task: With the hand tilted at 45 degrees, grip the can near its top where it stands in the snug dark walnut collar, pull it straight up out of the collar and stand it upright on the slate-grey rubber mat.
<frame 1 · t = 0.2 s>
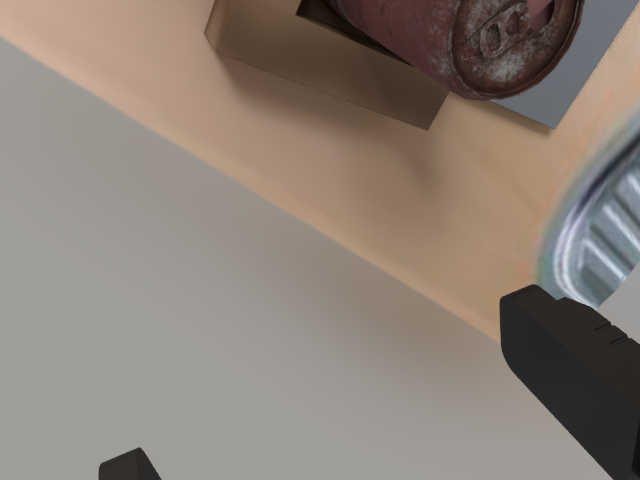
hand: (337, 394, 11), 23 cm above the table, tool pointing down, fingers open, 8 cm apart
mat: (559, 4, 35), on the table
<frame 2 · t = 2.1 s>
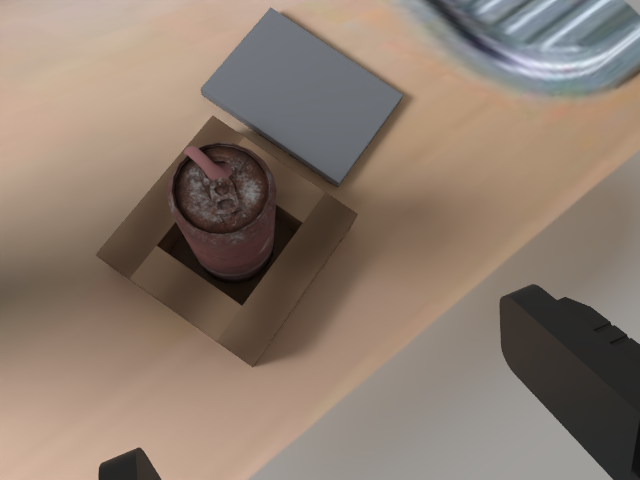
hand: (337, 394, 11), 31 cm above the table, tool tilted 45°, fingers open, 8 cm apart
can: (233, 245, 44), resting in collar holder
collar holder: (233, 245, 44), on the table
mat: (302, 97, 47), on the table
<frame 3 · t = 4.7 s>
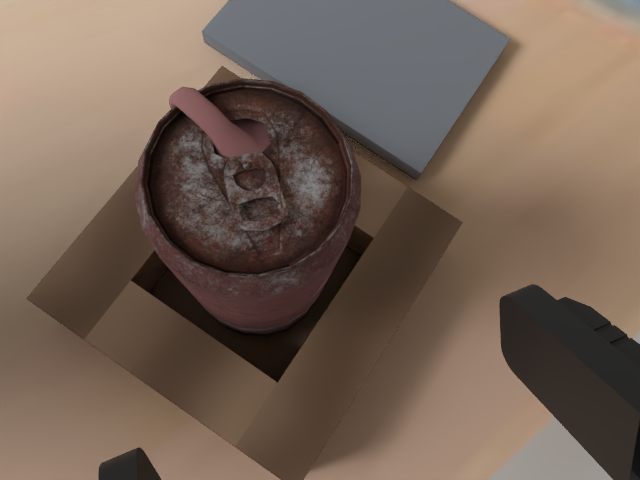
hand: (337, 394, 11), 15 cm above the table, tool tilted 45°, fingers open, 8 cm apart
can: (257, 274, 28), resting in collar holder
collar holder: (257, 273, 27), on the table
mat: (357, 45, 31), on the table
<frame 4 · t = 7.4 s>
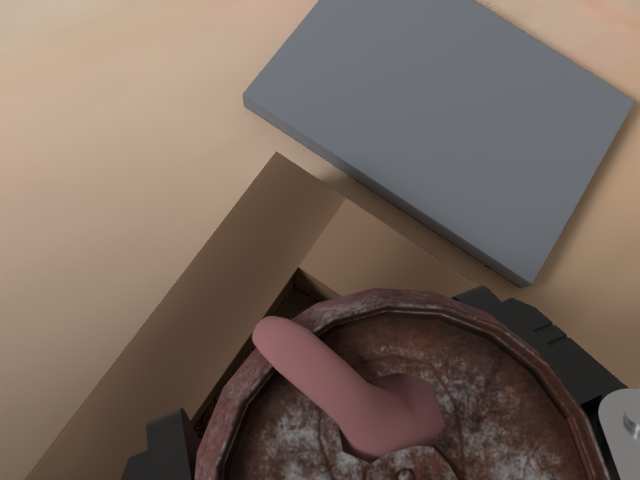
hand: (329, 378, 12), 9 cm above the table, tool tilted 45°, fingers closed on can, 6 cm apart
can: (320, 422, 21), resting in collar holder, touching gripper
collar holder: (320, 423, 21), on the table
mat: (438, 108, 24), on the table
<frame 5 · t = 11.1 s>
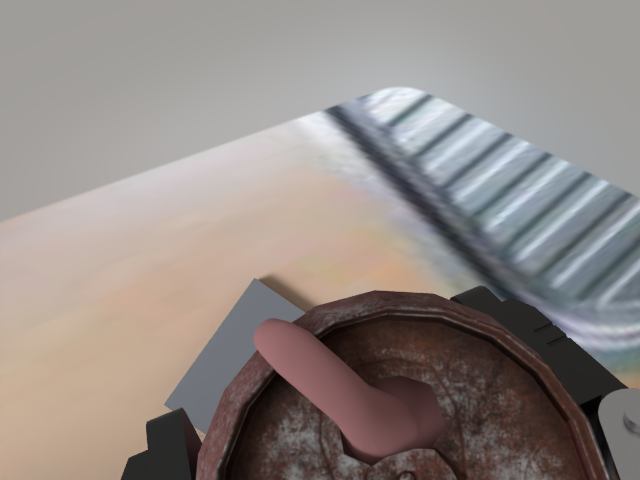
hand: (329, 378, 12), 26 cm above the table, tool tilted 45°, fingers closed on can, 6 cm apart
can: (320, 424, 21), point 17 cm above the table, touching gripper
mat: (297, 398, 37), on the table
when the fingers open (12 cm above the table, at t = 14.8 s): can drops 1 cm, resting on mat.
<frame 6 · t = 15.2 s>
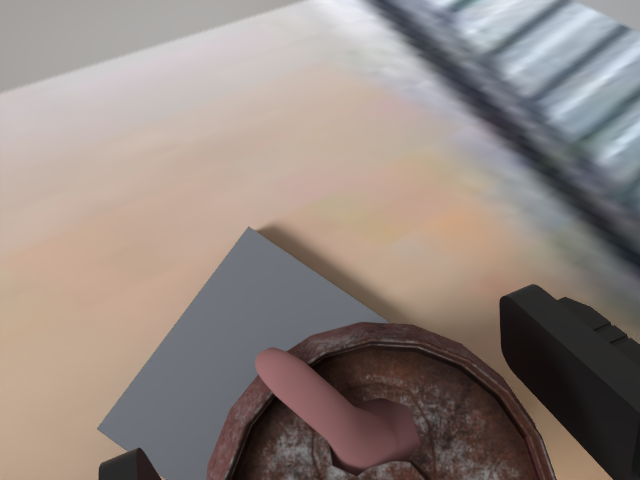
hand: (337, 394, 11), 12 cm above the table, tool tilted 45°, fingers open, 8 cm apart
can: (315, 428, 22), point 1 cm above the table, touching mat
mat: (315, 419, 23), on the table
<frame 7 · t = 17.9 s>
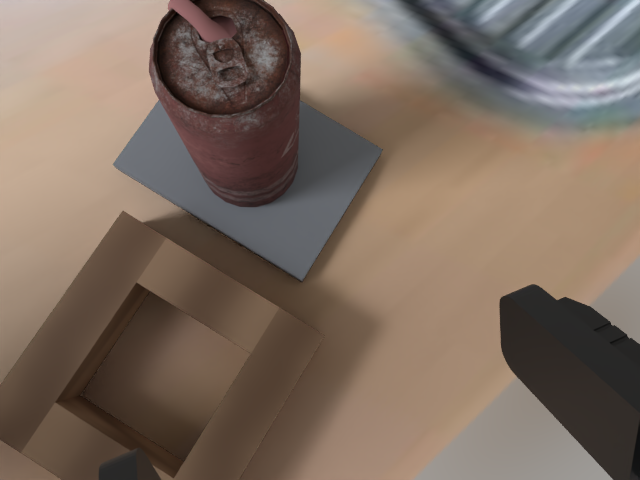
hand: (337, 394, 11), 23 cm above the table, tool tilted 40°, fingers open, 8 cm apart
can: (248, 162, 35), point 1 cm above the table, touching mat
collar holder: (168, 373, 33), on the table
mat: (251, 161, 36), on the table
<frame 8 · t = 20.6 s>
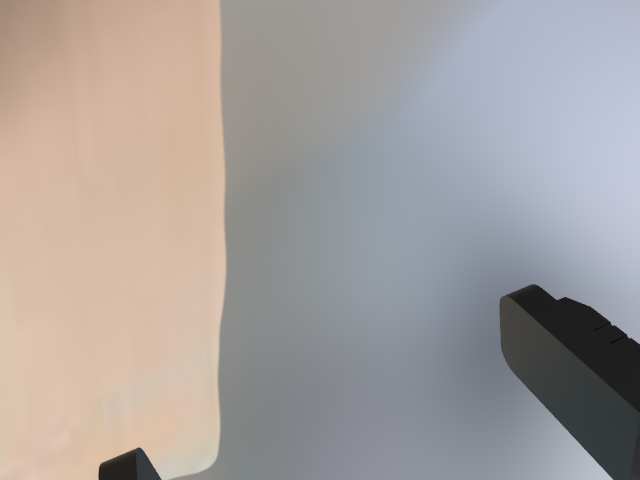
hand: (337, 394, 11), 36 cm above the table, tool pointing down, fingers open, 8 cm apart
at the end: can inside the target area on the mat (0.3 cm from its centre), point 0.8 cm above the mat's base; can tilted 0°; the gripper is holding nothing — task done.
